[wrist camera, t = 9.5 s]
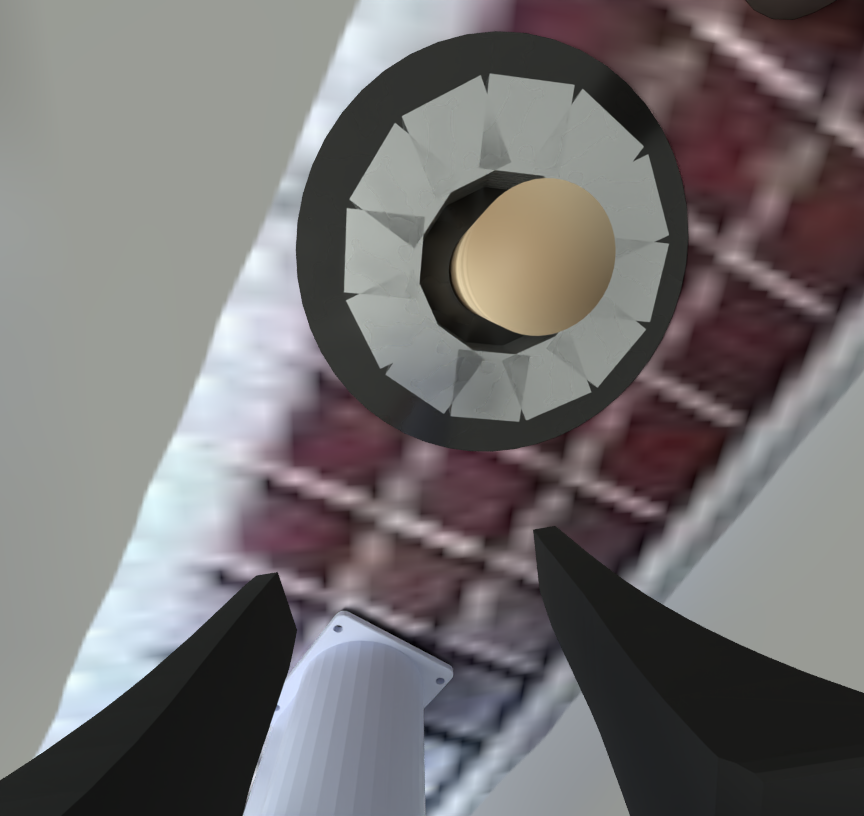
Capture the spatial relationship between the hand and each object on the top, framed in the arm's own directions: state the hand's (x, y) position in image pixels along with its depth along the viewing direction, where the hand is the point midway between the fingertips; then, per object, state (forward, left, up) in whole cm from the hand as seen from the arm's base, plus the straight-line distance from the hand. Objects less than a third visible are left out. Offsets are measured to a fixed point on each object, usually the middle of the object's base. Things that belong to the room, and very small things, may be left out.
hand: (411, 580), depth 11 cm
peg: (+9, +2, -9) cm, 13 cm away
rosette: (+9, +2, -9) cm, 13 cm away
